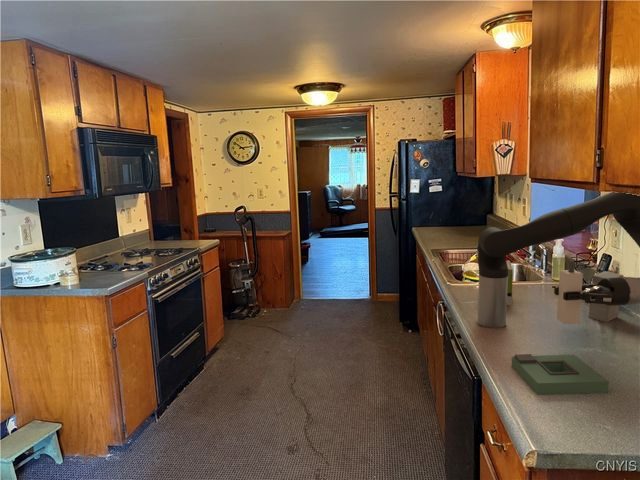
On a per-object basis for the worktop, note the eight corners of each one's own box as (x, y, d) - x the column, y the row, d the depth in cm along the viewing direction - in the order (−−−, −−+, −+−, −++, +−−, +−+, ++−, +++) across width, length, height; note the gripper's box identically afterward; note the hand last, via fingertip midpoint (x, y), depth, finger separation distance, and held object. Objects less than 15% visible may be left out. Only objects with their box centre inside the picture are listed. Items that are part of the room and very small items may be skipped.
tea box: (484, 293, 189) (485, 258, 187) (509, 294, 186) (511, 260, 183) (484, 304, 176) (485, 267, 173) (512, 306, 172) (513, 268, 170)
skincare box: (599, 312, 162) (602, 270, 159) (620, 318, 156) (624, 274, 153) (586, 317, 158) (590, 274, 155) (608, 323, 152) (612, 278, 149)
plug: (556, 319, 125) (560, 259, 122) (571, 318, 125) (574, 259, 122) (564, 324, 121) (568, 262, 118) (579, 323, 121) (583, 262, 118)
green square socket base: (511, 366, 123) (512, 353, 123) (573, 364, 123) (574, 351, 123) (537, 394, 109) (538, 380, 108) (607, 392, 109) (609, 378, 108)
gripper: (606, 271, 128) (546, 273, 128) (642, 285, 114) (575, 287, 114) (604, 296, 129) (545, 298, 129) (639, 313, 115) (573, 315, 115)
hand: (559, 293), depth 122 cm, fingers closed on plug, 4 cm apart
